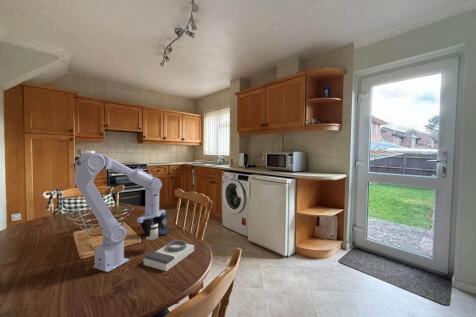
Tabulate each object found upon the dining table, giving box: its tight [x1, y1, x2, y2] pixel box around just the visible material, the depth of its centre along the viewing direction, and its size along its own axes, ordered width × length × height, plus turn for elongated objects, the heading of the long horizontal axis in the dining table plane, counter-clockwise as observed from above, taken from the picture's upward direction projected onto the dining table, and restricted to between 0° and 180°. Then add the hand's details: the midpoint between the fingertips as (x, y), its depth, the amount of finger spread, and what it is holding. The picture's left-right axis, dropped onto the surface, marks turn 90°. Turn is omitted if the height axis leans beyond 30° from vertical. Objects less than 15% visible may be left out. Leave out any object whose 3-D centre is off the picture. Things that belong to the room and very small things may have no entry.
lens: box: [145, 222, 159, 241], centre depth 96 cm, size 5×5×6 cm
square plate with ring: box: [143, 239, 195, 272], centre depth 89 cm, size 18×11×4 cm, turn 157°
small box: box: [149, 212, 169, 237], centre depth 114 cm, size 11×6×10 cm, turn 105°
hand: (152, 234), depth 96 cm, fingers closed on lens, 5 cm apart
